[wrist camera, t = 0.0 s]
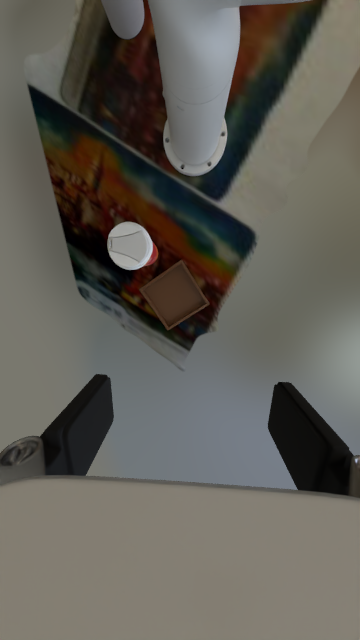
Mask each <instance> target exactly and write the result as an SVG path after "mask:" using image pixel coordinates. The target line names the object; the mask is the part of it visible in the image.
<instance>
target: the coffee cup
mask: <svg viewBox="0 0 360 640" xmlns="http://www.w3.org/2000/svg"><path fill="white" fill-rule="evenodd" d="M101 2H102V4H103V7H104V9H105V12H106V14H107V17H108V19H109V22H110V24H111V27H112V29H113V31H114V32H115V33H116V34H117V35H118V36H119V37H121V38H123V39H131V38H133V37H135V36H136V35H137V34H138V33H139V32H140V30H141V28H142V26H143V22H144V7H143V0H101Z"/></svg>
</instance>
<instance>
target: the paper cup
mask: <svg viewBox="0 0 360 640" xmlns="http://www.w3.org/2000/svg"><path fill="white" fill-rule="evenodd" d="M107 245H108V251H109V254H110V257H111V258H112V260H113V261H114V262H115V263H116V264H117V265H118V266H120V267H121V268H124V269H127V270H135V269H138V268H141V267H143V266H148V265H151V264H153V263H154V262H155V261H156V259H157V257H158V250H157V248H156V246H155V244H154V243H153V242H152V240H151V238H150V236H149V234H148V233H147V231H146V230H145V229H144V228H143V227H142V226H140V225H138V224H136V223H133V222H123V223H121V224H119V225H117V226H116V227H114V228H113V229H112V231H111V232H110V234H109V236H108V244H107Z"/></svg>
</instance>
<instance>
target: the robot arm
mask: <svg viewBox="0 0 360 640" xmlns="http://www.w3.org/2000/svg"><path fill="white" fill-rule="evenodd" d="M304 1H310V0H148V2H149V7H150V11H151V15H152V20H153V25H154V30H155V36H156V42H157V48H158V55H159V62H160V69H161V76H162V82H163V89H164V90H163V96H164V98H165V103H166V110H167V116H168V118H167V121H166V123H165V128H164V135H163V141H164V148H165V152H166V155H167V158H168V160H169V161H170V163H171V165H172V166H173V167H174V168H175V169H176V170H177V171H179V172H180V173H182V174H184V175H188V176H199V175H203V174H205V173H207V172H209V171H210V170H211V169H213V168H214V167H215V166H216V165H217V163H218V162H219V160H220V159H221V157H222V155H223V152H224V149H225V145H226V140H227V128H226V122H225V119H224V113H225V109H226V104H227V100H228V95H229V91H230V86H231V81H232V77H233V72H234V68H235V64H236V59H237V54H238V49H239V41H240V16H239V6H242V5H262V4H283V3H296V2H304ZM222 136H223V137H222ZM167 142H168V143H167ZM208 165H210V166H208ZM181 168H184V169H181ZM113 418H114V415H113V403H112V392H111V381H110V378H109V377H107V375H100V374H96V375H95V376H94V377H93V378H92V379H91V380H90V381H89V383H88V384H87V385H86V386H85V387H84V388H83V389H82V390H81V391H80V392H79V394H78V395H77V396H76V397H75V398H74V399H73V400H72V401H71V403H69V404H68V406H67V407H66V408H65V409H64V410H63V411H62V412H61V413H60V414H59V416H58V417H57V418H56V419H55V420H54V421H53V422H52V423H51V425H49V427H48V428H47V429H46V430H45V431H44V432H43V434H42V435H41V436H40V437H39V436H28V437H25V438H22V439H19V440H17V441H15V442H13V443H12V444H10V445H9V446H7V447H6V448H5V449H4V450H3V451H2V452H1V453H0V640H360V455H356V456H354V455H353V454H352V453H351V452H350V451H349V447H348V446H347V445H346V444H345V443H344V442H343V441H342V439H341V438H340V437H339V436H338V435H337V434H336V433H335V432H334V431H333V429H332V428H331V427H330V426H329V425H328V424H327V423H326V422H325V420H324V419H323V418H322V417H321V416H320V415H319V414H318V413H317V412H316V410H315V409H314V408H313V407H312V406H311V405H310V404H309V403H308V402H307V400H306V399H305V398H304V397H303V396H302V395H301V394H300V393H299V391H298V390H297V389H296V388H295V387H294V386H293V385H292V384H291V383H289V382H278V384H277V385H275V386H274V391H273V397H272V403H271V409H270V415H269V421H268V429H269V432H270V434H271V436H272V438H273V440H274V442H275V444H276V446H277V448H278V450H279V453H280V455H281V457H282V459H283V461H284V463H285V465H286V467H287V469H288V471H289V473H290V475H291V477H292V479H293V481H294V483H295V485H296V487H297V489H298V490H291V489H278V488H264V487H251V486H238V485H223V484H210V483H195V482H180V481H166V480H148V479H134V478H117V477H99V476H86V474H87V472H88V470H89V468H90V466H91V464H92V462H93V460H94V458H95V456H96V454H97V452H98V450H99V448H100V446H101V444H102V442H103V440H104V438H105V436H106V434H107V432H108V430H109V429H110V426H111V425H112V422H113Z"/></svg>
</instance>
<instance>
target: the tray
mask: <svg viewBox="0 0 360 640" xmlns="http://www.w3.org/2000/svg"><path fill="white" fill-rule="evenodd" d="M139 290H140V291H141V293H142V295H143V296H144V297H145V299H146V300H147V302H148V303H149V305H150V306H151V307H152V309H153V310H154V312H155V313H156V315H157V316H158V317H159V319H160V320H161V322H162V323H163V325H164V326H165V327H166V328H167V330H169V329H171V328H173V327H174V326H176V325H177V324H179V323H181V322H182V321H184V320H185V319H187V318H189V317H190V316H192V315H193V314H195V313H197V312H198V311H200V310H201V309H203V308H205V307H206V306H208V305H209V302H208V301H207V299H206V297H205V296H204V294H203V293H202V291H201V290H200V288H199V286H198V285H197V283H196V282H195V280H194V278H193V277H192V275H191V274H190V272H189V270H188V269H187V267H186V266H185V264H184V263H183V261H182V260H180V261H179V262H177V263H176V264H175V265H173V266H172V267H170V268H169V269H167V270H166V271H165V272H163V273H162V274H160V275H159V276H157V277H156V278H155V279H153V280H152V281H150V282H149V283H147V284H146V285H144V286H143V287H142V288H140V289H139Z"/></svg>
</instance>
